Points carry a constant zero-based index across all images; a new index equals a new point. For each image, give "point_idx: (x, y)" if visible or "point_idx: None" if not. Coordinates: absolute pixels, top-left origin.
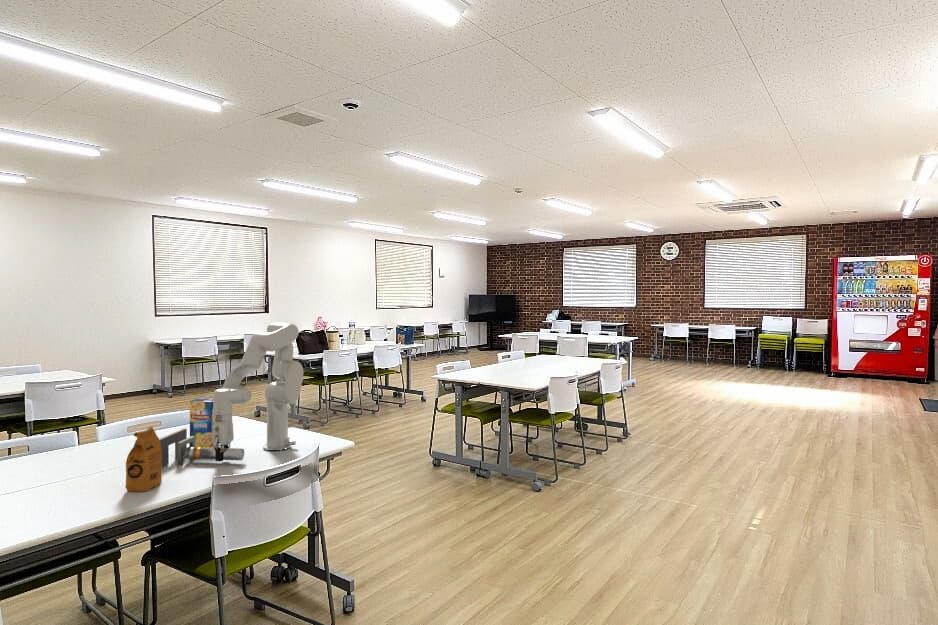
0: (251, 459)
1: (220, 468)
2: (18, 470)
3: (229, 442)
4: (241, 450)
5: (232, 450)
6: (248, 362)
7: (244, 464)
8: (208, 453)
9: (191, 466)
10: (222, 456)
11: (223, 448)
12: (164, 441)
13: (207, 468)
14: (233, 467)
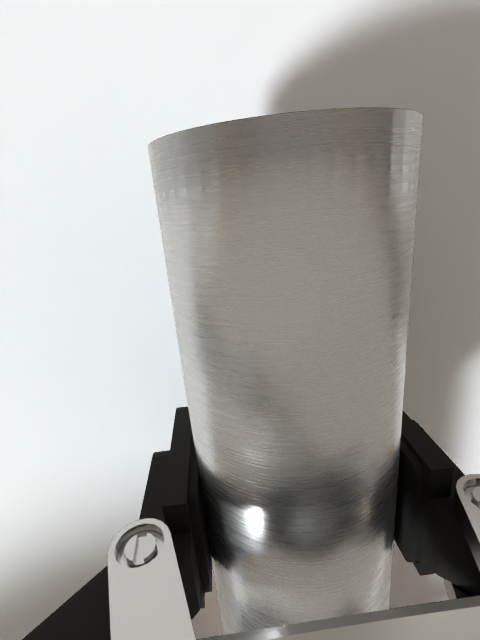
0: (19, 120)
1: (467, 314)
2: None
3: (314, 626)
4: (325, 117)
5: (390, 334)
6: None
7: (282, 91)
8: None
9: (407, 580)
10: (408, 420)
11: (336, 555)
12: None
13: (465, 436)
14: (428, 179)
